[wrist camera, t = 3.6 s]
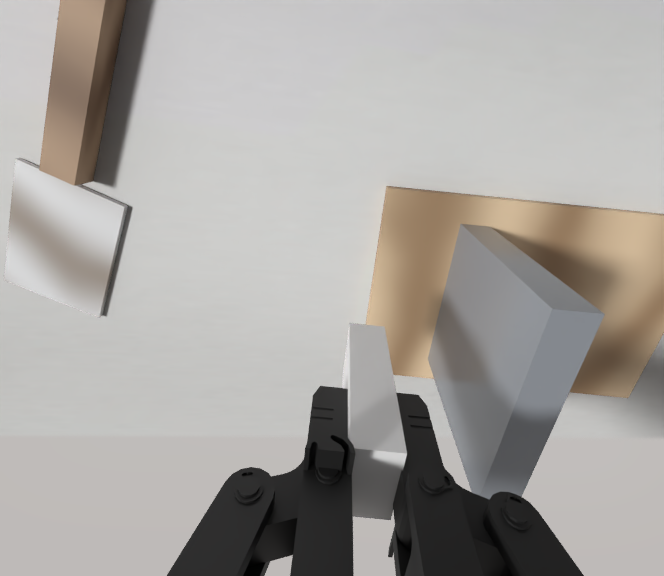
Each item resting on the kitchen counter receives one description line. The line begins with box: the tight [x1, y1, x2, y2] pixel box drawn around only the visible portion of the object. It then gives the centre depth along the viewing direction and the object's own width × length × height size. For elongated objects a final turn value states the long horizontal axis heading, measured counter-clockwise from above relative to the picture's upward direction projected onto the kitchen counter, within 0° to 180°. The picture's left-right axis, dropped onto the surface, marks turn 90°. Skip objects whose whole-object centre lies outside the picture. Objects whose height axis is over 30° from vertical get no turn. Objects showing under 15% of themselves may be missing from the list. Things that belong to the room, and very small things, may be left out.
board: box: [366, 186, 664, 398], centre depth 22 cm, size 18×12×1 cm, turn 85°
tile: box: [428, 224, 605, 500], centre depth 18 cm, size 2×9×10 cm, turn 175°
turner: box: [4, 0, 128, 318], centre depth 20 cm, size 18×6×2 cm, turn 155°
